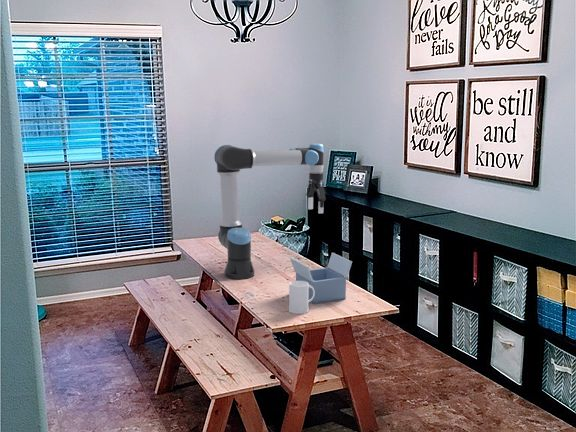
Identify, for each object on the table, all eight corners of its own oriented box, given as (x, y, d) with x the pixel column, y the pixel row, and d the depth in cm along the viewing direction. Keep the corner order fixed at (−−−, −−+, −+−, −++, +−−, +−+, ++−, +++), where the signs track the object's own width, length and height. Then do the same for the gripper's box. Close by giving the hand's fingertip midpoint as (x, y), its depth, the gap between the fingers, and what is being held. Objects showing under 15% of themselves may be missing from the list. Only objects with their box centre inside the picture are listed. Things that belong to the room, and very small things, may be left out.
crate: (313, 304, 263) (313, 282, 262) (295, 292, 279) (296, 271, 278) (345, 299, 270) (346, 277, 268) (326, 288, 286) (326, 267, 284)
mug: (311, 305, 262) (311, 278, 259) (319, 311, 254) (319, 284, 252) (285, 308, 257) (285, 281, 255) (293, 315, 250) (293, 287, 247)
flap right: (351, 261, 268) (352, 261, 268) (332, 252, 284) (333, 252, 284) (346, 277, 268) (347, 277, 269) (327, 267, 284) (328, 267, 284)
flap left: (313, 281, 262) (312, 282, 261) (295, 271, 277) (294, 271, 277) (308, 266, 259) (307, 267, 259) (291, 257, 275) (289, 257, 275)
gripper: (332, 174, 317) (331, 214, 321) (313, 169, 340) (312, 207, 344) (319, 175, 314) (318, 215, 318) (300, 170, 337) (300, 207, 341)
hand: (315, 211), depth 331 cm, fingers open, 13 cm apart
